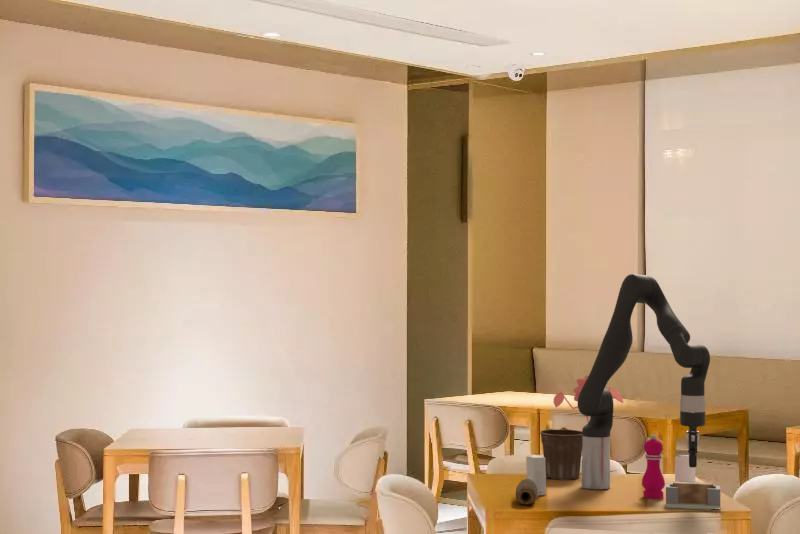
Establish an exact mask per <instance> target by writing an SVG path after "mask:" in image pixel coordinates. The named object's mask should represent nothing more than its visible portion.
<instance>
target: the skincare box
mask: <svg viewBox="0 0 800 534" xmlns="http://www.w3.org/2000/svg"><path fill="white" fill-rule="evenodd" d="M525 457H526V458H525V462H526V463H525V465H526V479H530V480H532V481H534V482H535V484H536V486H537V496H546V495H547V477H546V465H545V457H544V456H540V455H534V454H533V455H527V456H525Z"/></svg>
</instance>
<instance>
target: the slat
mask: <svg viewBox="0 0 800 534" xmlns="http://www.w3.org/2000/svg"><path fill="white" fill-rule="evenodd" d="M672 484H673V487H678V503H688V504H708V488H713V485H714V482H696V481H695V482H675V481H672Z"/></svg>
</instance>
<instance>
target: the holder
mask: <svg viewBox="0 0 800 534" xmlns="http://www.w3.org/2000/svg"><path fill="white" fill-rule="evenodd" d="M665 508H670V509H671V508H672V509H689V510H690V509H691V510H692V509H694V510H695V509H696V510H711V509H716V508H717V509H718V508H720V509H721V486H720V485H714V484H713V488H708V504H688V503H678V487H673V483H665Z"/></svg>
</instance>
